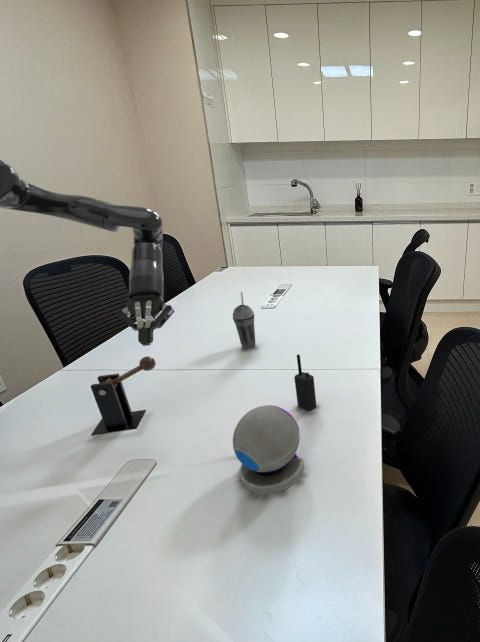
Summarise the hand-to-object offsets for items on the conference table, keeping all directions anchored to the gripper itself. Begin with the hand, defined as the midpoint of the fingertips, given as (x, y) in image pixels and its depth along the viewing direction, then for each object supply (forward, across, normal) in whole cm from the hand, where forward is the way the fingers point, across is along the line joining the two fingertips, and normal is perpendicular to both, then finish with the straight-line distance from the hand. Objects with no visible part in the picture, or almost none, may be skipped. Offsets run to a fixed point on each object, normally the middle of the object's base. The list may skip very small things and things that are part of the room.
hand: (145, 344), depth 93 cm
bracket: (+16, +10, -13) cm, 23 cm away
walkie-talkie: (+19, -36, -10) cm, 42 cm away
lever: (+7, +4, -4) cm, 9 cm away
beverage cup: (-12, -19, -41) cm, 46 cm away
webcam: (+34, -27, +5) cm, 44 cm away
